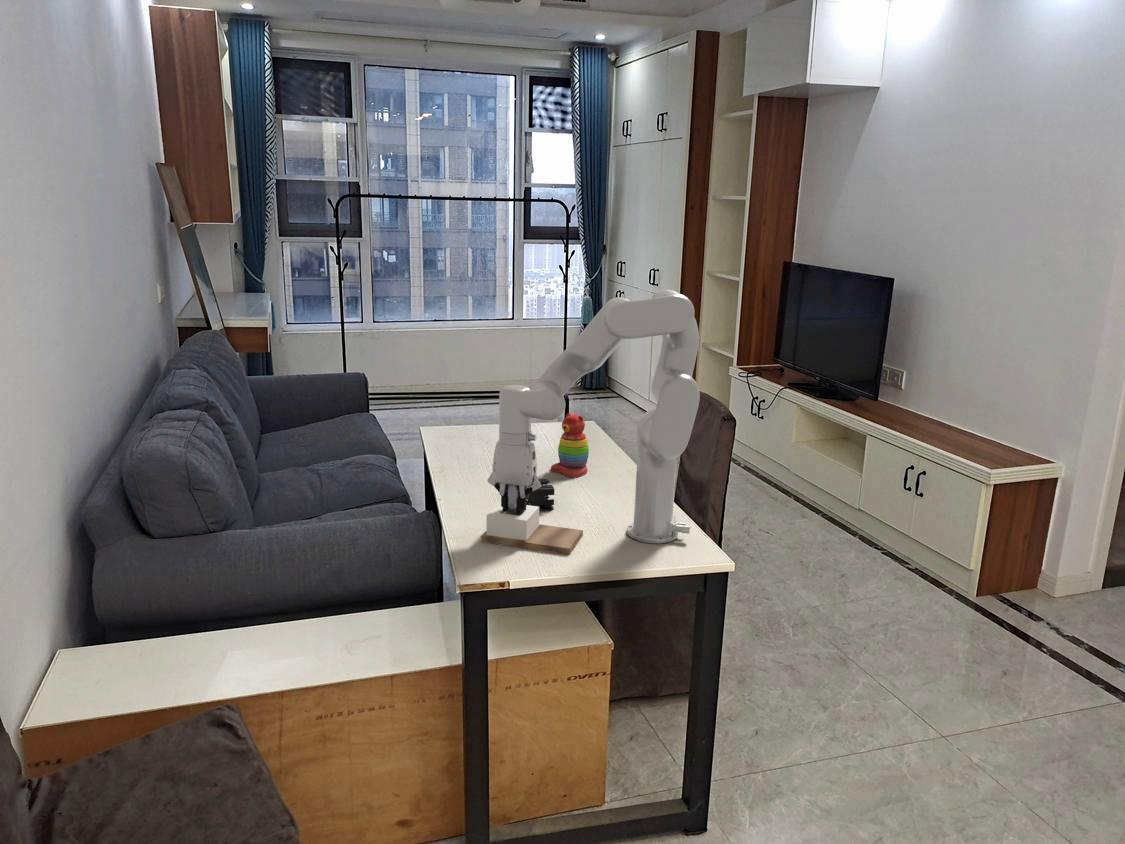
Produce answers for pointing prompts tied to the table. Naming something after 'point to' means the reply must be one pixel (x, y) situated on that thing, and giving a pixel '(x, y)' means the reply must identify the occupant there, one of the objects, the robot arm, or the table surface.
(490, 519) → the socket
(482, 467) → the table surface
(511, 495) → the peg
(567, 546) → the board
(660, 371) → the robot arm
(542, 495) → the end cap
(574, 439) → the stacking bear
